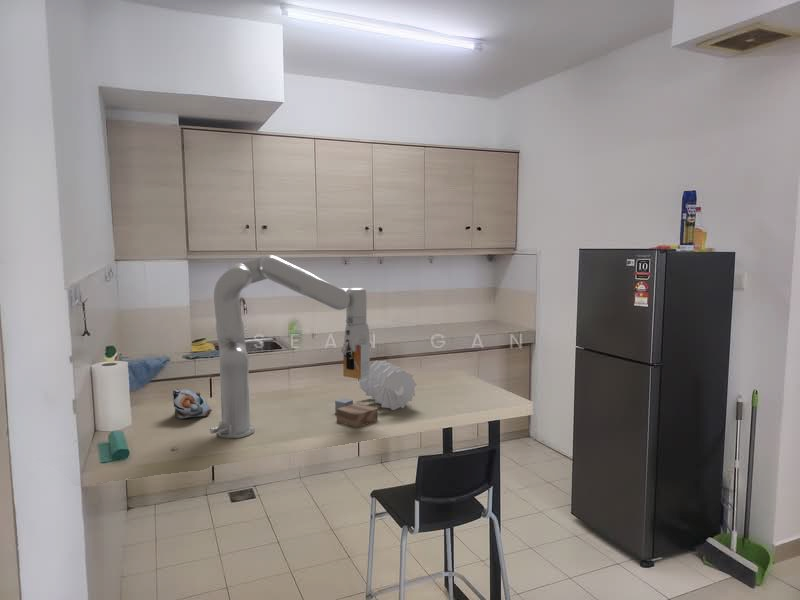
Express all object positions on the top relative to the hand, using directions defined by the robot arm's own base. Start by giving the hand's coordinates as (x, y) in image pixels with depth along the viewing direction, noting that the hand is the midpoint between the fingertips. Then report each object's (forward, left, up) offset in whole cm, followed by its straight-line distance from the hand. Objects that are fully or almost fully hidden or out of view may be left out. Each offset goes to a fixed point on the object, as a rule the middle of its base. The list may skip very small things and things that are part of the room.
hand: (356, 366), depth 206 cm
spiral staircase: (+23, +3, -21) cm, 31 cm away
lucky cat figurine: (-35, +54, -21) cm, 68 cm away
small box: (0, 0, -4) cm, 4 cm away
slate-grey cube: (+4, +10, -21) cm, 23 cm away
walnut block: (0, -1, -21) cm, 21 cm away
